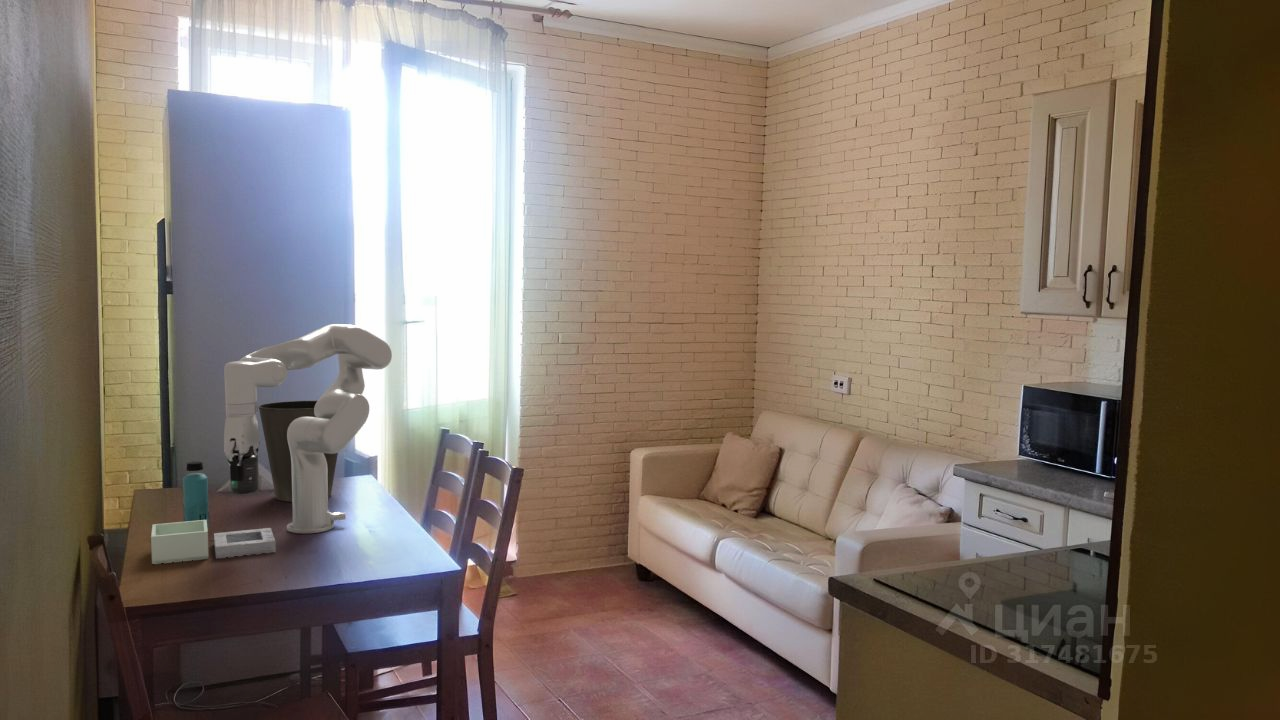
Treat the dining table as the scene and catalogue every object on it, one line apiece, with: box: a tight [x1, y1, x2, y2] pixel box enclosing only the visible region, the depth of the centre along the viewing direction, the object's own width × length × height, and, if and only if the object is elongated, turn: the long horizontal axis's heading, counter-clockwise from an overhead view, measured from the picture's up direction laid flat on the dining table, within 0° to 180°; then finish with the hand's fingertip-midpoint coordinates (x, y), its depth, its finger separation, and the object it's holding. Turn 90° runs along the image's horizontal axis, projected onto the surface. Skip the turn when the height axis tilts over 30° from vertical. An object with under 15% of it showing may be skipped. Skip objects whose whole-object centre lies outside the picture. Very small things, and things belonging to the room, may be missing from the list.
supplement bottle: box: [229, 446, 260, 495], centre depth 246 cm, size 7×7×12 cm
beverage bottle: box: [182, 460, 211, 530], centre depth 260 cm, size 6×7×20 cm
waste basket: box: [257, 400, 339, 503], centre depth 305 cm, size 27×20×30 cm
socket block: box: [213, 527, 277, 560], centre depth 247 cm, size 14×14×3 cm
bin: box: [150, 520, 209, 565], centre depth 241 cm, size 13×13×7 cm
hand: (244, 476), depth 246 cm, fingers closed on supplement bottle, 6 cm apart
